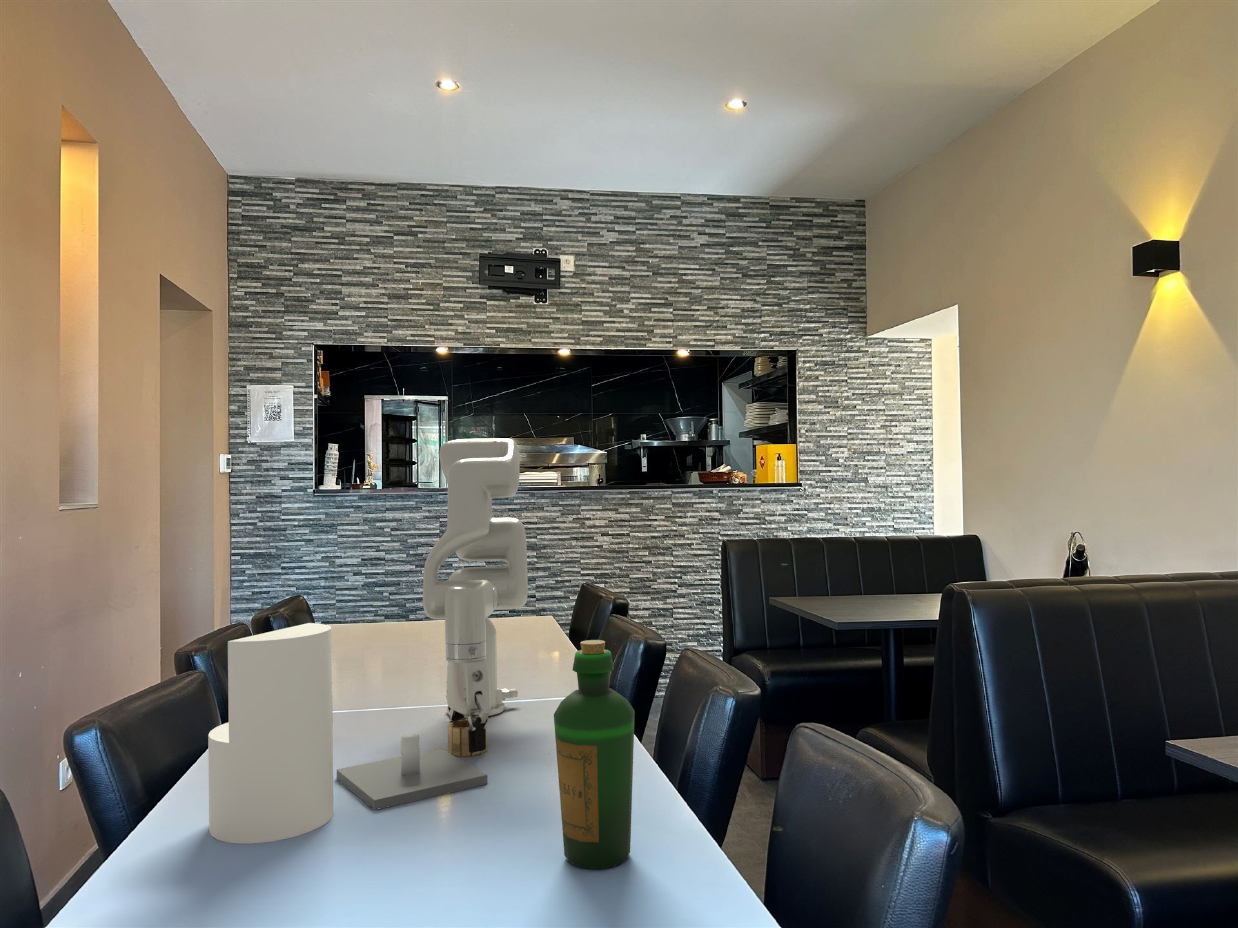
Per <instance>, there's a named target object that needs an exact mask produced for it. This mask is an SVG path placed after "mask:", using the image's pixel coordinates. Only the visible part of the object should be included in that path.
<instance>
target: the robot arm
mask: <svg viewBox="0 0 1238 928" xmlns="http://www.w3.org/2000/svg"><path fill="white" fill-rule="evenodd" d="M438 454H439V461H440V462H439V463H440V467H441V470H442V471H441V472H442V473H443V476H444V478H445V480H446V483H447V516H446V518H447V520H446V521H447V524H446V525H447V526H446V530H445V532H444V534H443V535H442V536H441V537H440V538H439V539H438V541H436V543H435V544H433V547H432V548H431V550H430V552H429V553H428V555H427V558H426V560H425V562H424V567H423V582H422V583H423V584H422V607H423V611H424V613H425V615H426V616H427V617H428V618H430V619H432V620H444V627H445V628H444V629H445V630H444V631H445V632H444V633H445V634H444V635H445V639H444V640H445V661H446V662H447V670H446V696H445V698H446V703H447V707H446V713H447V714H448V720H449V723H450V722H453V721H456V720H461V719H464V720H465V719H468V721H469V725H470V729H471V730H468V737H469V752H471V753H473V752H478V751H483V750H485V749H486V728H488V727H487V725H486V723H488V720H489V717H491V716H496V715H498V714H500V713H503V712H504V711H505V710H506V705H505V703H504V701H505V700H506V699H513V698H514V699H515V698H518V695H519V692H518V690H517V688H512V689H511V688H510V689H507V688H503V689H502V688H500V687H498V657H497V656H498V655H497V654H498V652H497V650H498V649H497V648H498V647H497V630H496V627H495V625H494V623H493V622H492V620H490V619H489V616H491V615H492V613H494V611H498V610H499V611H500V610H517V609H520V608H523V607H524V606H525V605H526V603H527V600H528V595H529V594H528V593H529V585H528V583H529V582H528V581H529V580H528V578H529V577H528V550H527V549H528V548H527V546H528V545H527V544H528V543H527V536H526V535H527V534H526V530H525V529H526V528H525V526H524V524H523V522H522V521H521V520H520V519H518V518H515V517H494V516H493V499H500V498H501V499H502V498H503V499H504V498H512V497H514V496H515V495H516V494H517V492H518V489H519V486H520V485H519V484H520V461H521V458H520V449H519V446H518V444H517V442H516V441H514V440H513V439H511V438H462V439H460V438H459V439H452V440H448V441H446V442H444V443H443V444H442V445H441V446H440V448H439V453H438ZM454 553H455V554H456V556H457V558H458V559H460V560H463V561H469V562H481V561H482V562H484V561H485V562H488V561H502V562H505V563H506V564H507V565H506V566H473V567H471V566H470V567H463V568H459V569H457V570H455V571H454V572H452V573H451V574H450V576H449V577H448V579H447V580H439V571H440V568H441V566H442V564H443V562H444V561H445V560H446V559H447V558H448V557H449V556H451V555H452V554H454ZM474 719H476V720H475V722H474Z"/></svg>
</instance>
